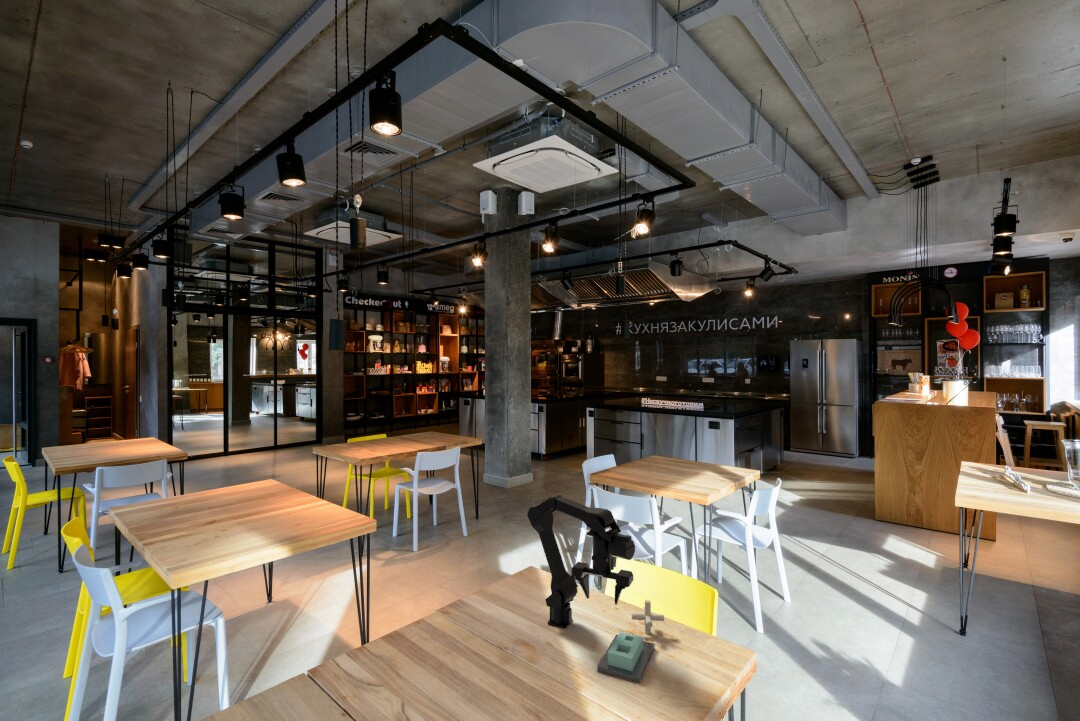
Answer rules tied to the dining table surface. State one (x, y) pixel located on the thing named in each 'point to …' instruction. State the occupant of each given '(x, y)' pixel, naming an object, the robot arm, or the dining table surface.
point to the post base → (623, 673)
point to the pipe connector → (647, 617)
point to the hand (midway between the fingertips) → (601, 601)
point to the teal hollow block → (629, 644)
